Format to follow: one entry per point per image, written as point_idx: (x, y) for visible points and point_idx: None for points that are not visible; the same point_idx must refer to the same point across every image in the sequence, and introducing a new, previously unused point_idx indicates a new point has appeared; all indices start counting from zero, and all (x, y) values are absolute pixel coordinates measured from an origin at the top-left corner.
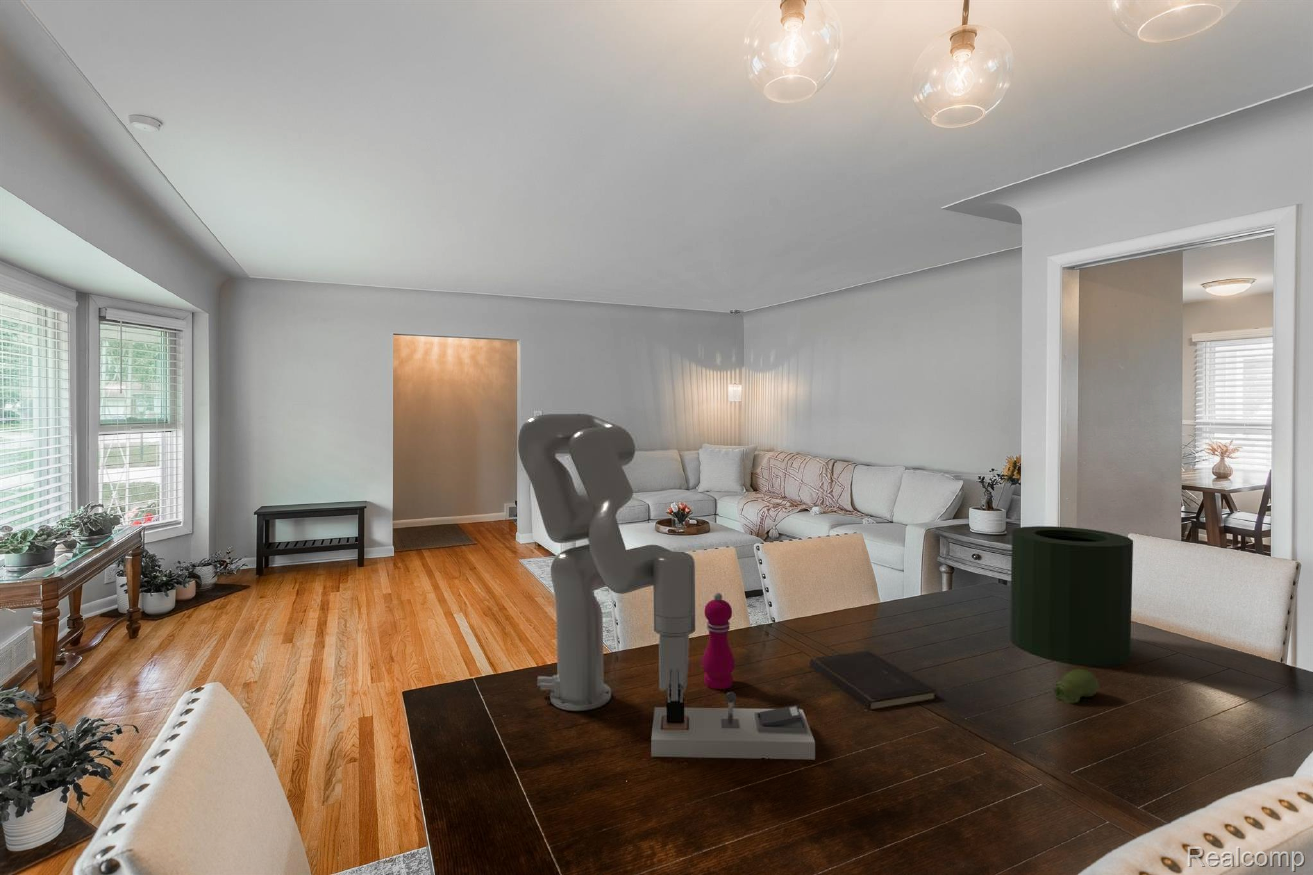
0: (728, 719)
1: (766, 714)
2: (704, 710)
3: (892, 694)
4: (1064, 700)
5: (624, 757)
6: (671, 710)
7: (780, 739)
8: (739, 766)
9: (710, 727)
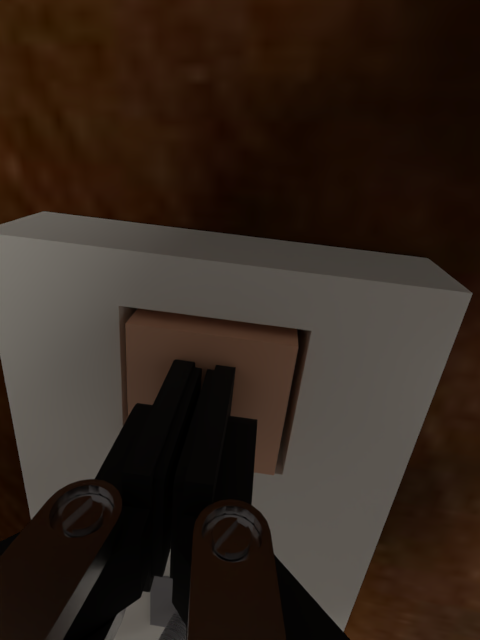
0: (167, 629)
1: None
2: (342, 548)
3: None
4: None
5: (9, 31)
6: (114, 450)
7: None
8: (28, 520)
9: None
